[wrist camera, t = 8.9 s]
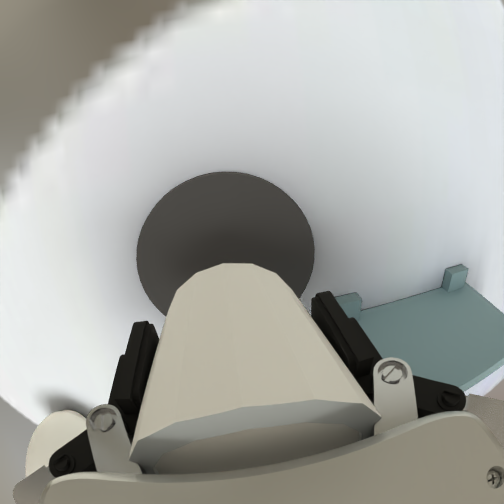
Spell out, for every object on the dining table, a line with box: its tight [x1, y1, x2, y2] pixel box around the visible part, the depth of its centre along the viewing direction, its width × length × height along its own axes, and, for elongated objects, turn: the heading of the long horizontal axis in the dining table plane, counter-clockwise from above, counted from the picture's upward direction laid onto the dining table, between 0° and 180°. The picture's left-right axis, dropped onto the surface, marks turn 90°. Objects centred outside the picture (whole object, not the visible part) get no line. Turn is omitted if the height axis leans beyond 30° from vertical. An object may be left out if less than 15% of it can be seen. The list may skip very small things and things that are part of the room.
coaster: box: [136, 172, 314, 316], centre depth 18 cm, size 11×11×1 cm
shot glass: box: [129, 263, 382, 475], centre depth 9 cm, size 7×7×7 cm
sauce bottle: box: [25, 410, 87, 477], centre depth 15 cm, size 8×8×18 cm
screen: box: [335, 264, 504, 392], centre depth 17 cm, size 5×16×10 cm, turn 96°
